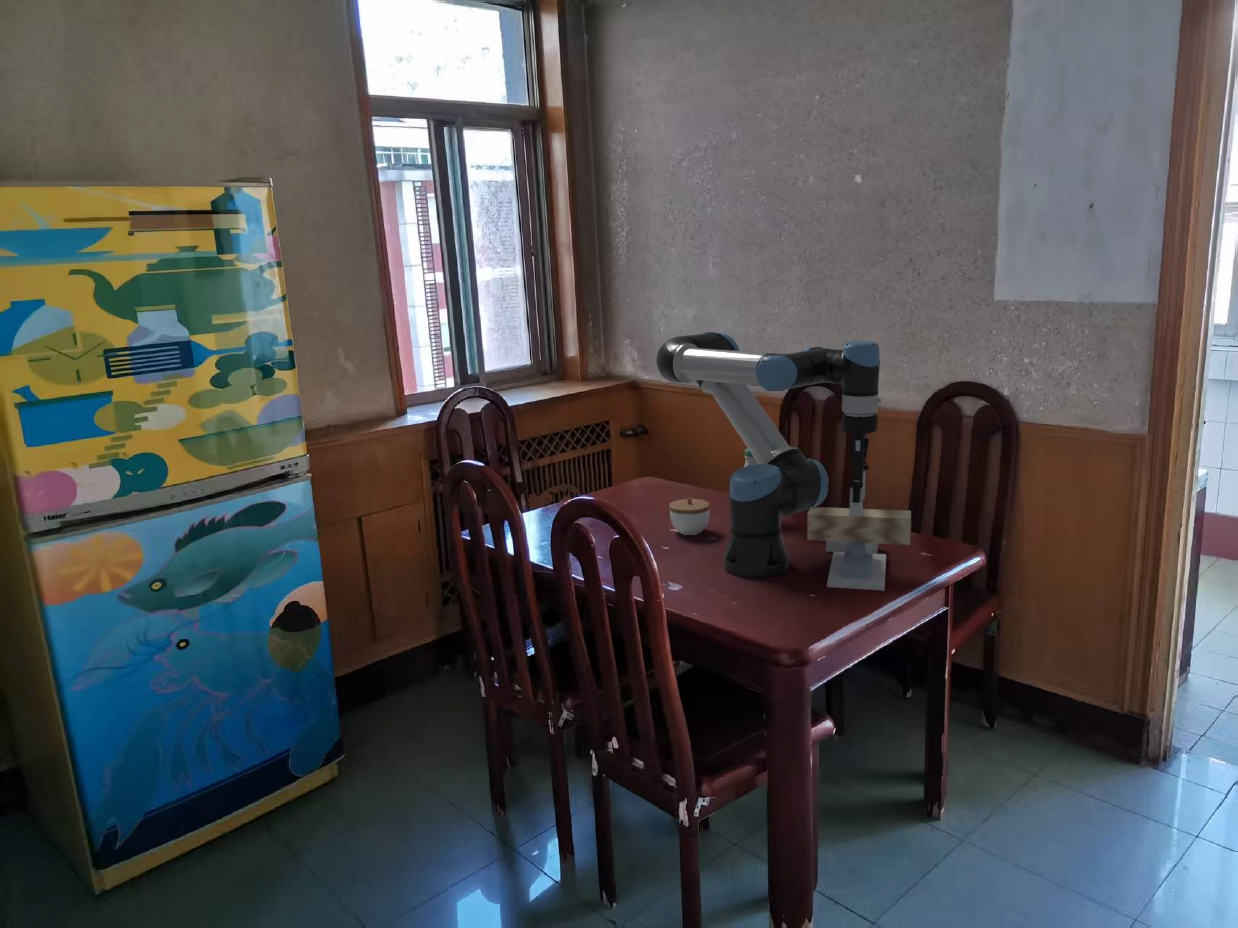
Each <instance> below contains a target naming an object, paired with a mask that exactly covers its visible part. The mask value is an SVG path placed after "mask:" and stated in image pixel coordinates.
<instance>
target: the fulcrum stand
mask: <svg viewBox="0 0 1238 928" xmlns="http://www.w3.org/2000/svg"><path fill="white" fill-rule="evenodd" d="M832 553H833V554H832V558H831V562H830V566H829V567H830V568H829V572H828V577H827V581H826V582H827V584H826V588H837V589H838V588H839V589H840V588H841V589H852V590H853V589H856V590H870V591H871V590H872V591H884V592H885V587H886V566H887V565H886V564H887V554H885V553H877V554H873V546H869V545H865V543H860V542H851V545H849V544H846V548H845V552H832Z"/></svg>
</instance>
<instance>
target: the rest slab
mask: <svg viewBox="0 0 1238 928" xmlns="http://www.w3.org/2000/svg"><path fill="white" fill-rule="evenodd" d="M846 544H849V545H851V542H839V541H825V552H827V553H833V552H845V548H846ZM865 545H869V546H873V554H879V553H878V550H879V543H865Z"/></svg>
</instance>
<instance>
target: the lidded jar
mask: <svg viewBox="0 0 1238 928" xmlns="http://www.w3.org/2000/svg"><path fill="white" fill-rule="evenodd" d="M668 507H669V514H670V515H669V516H670V521H671V524H672V526H673V528H674V529H675V530H676V531H677V532H678V533H679V532H680V533H681V534H684V535H683V536H686V535H694V536H698V535H697V534H699V533H701V532H702V533H703V531H704V530H705V529H706V528H707V527H708V526H707V525H708V524H709V520H710V515H711V514H710V513H711V512H710V511H711V510H710V508H711V503H710V502H709V501H707V500H705V499H699V498H691V497H687V498H684V499H677V500H674V501H671V502H670V503H669V505H668ZM680 533H679V534H680ZM702 533H701V534H702ZM681 534H680V535H681ZM699 535H700V534H699Z"/></svg>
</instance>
